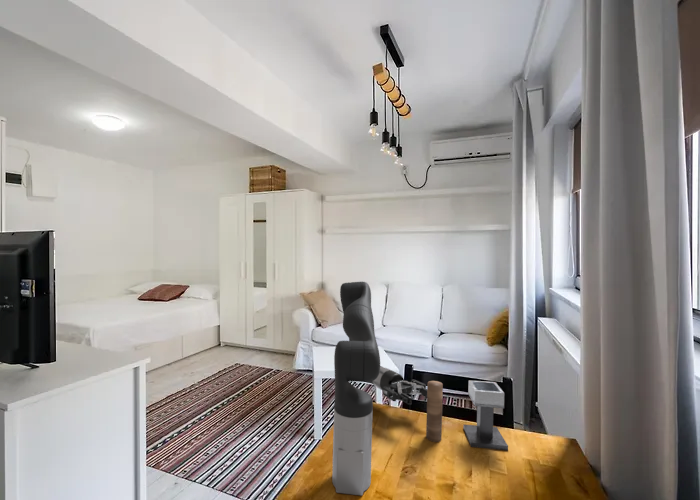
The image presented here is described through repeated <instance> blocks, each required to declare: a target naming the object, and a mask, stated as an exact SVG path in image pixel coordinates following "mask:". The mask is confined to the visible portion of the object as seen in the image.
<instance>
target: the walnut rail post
mask: <svg viewBox="0 0 700 500" xmlns="http://www.w3.org/2000/svg"><path fill="white" fill-rule="evenodd" d="M443 386H444V384H443V383H442V382H441V381H438V380H429V381H428V382H427V384H426V389H427V397H426V427H425V428H426V429H425V431H426V433H425V437H426V439H427V440H428V441H430V442H434V443H437V442H438V443H439V442H441V441H442V433H443V432H442V428H443V424H442V423H443V391H444V389H443V388H444V387H443Z"/></svg>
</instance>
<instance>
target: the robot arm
mask: <svg viewBox="0 0 700 500" xmlns="http://www.w3.org/2000/svg"><path fill="white" fill-rule="evenodd" d="M371 291H372V290H371V287H370V285H369V283H368V282H367V281H352V282H351V281H350V282H343V283H341V285H340V289H339V295H340V298H339V299H340V303H341V308H342V312H343V316H342V319H343V320H342V328H343V331H344V333H345V335H346V336H347V337H348V340H340V341H337V343H336V345H335V348H334V355H333V357H334V358H333V359H334V363H333V365H334V367H333V368H334V403H333V405H334V406H333V434H332V435H333V438H332V441H333V442H332V475H331V476H332V477H331V478H332V481H331V483H332V485H333V487H335V493H337V494H345V495H354V496H363V495H364V492H365V491H367V490H368V489H369V488H370V486H371V482H372V451H373V450H372V448H373V445H372V444H373V442H372V441H373V406H374V404H373V403H374V401H373V398H372V396H371V394H370V393H368V392H367V391H365V390H363V389H361V388H358V387H356V386H354V385H353V384H351V383H350V382H361V383H362V382H363V383H364V382H366V383H370V384H372V385H373V386H375V387H376V388H377V389H379V390H380V391H382V392H383V396H384V397H386V398H387V399H389V400H391V401H392V402H397V401H398V402H403V403H405V404H407V405H409V406H410V405H412V403H413V401H412V397H411V395H412V396H413V395H414V396H415V395H421V396H424V398H427V384H425V383H424V382H421V381H419V380H416V379H411V381H408V380H405V379H404V377H403V376H402V375H401V374H399V373H397V372H396V371H394V370H391V369H390V368H387V367H384V366H381V355H380V350H379V345H378V341H377V339H376V334H375V321H374V314H373V308H372V292H371ZM412 389H413V390H412ZM409 395H410V396H409Z"/></svg>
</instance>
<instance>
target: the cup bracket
mask: <svg viewBox="0 0 700 500" xmlns="http://www.w3.org/2000/svg"><path fill="white" fill-rule="evenodd" d="M467 391H468V393H467V394H468V396H469V397H470V400H471V402H472V404H473V405H474V406H475V407H477V408H476V425H475V424H474V425H472V424H465V423H464V424H463V427H462V428H463V431H464V432H465V436H466V438H467V440H468V443H469V446H470V448H480V449H489V450H490V449H491V450H492V449H493V450H502V451H509V445H508V443H507V442H506V440H505V438H504V437H503V435H502V434H501V432H500V430H499V429H498V427H496V426H494V408H496V409H505V392H504V391H503V389H502V388H501V387H500V386H499V385H498V383H497V382H494V381H485V380H484V381H481V380H468V390H467Z"/></svg>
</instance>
